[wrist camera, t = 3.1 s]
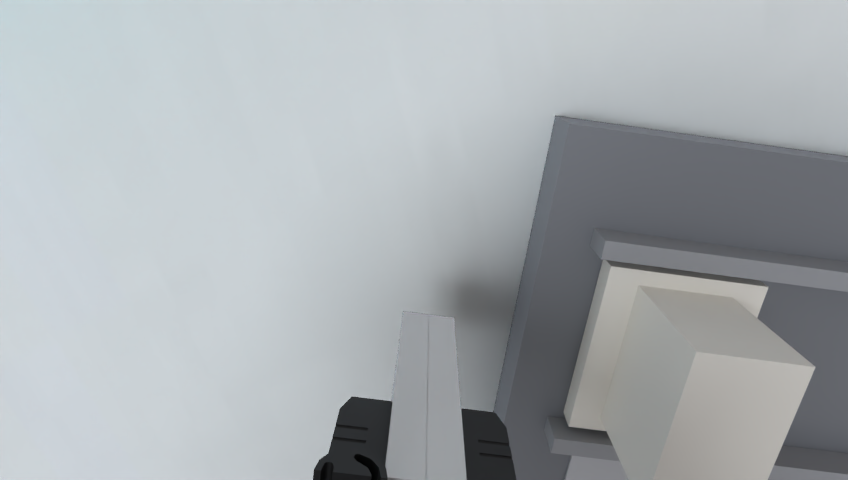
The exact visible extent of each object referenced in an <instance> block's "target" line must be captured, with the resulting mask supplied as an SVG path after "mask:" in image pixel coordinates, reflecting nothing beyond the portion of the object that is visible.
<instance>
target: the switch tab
mask: <svg viewBox="0 0 848 480" xmlns="http://www.w3.org/2000/svg"><path fill="white" fill-rule="evenodd" d="M768 288H769V287H768V286H766V285H765V284H764V283H762V282H761V281H759V280H753V279H746V278H738V277H731V276H723V275H716V274H708V273H700V272H693V271H685V270H678V269H670V268H663V267H655V266H648V265H640V264H632V263H625V262H617V261H610V260H603V261H602V265H601V269H600V273H599V277H598V281H597V284H596V288H595V292H594V296H593V300H592V304H591V308H590V311H589V315H588V319H587V323H586V327H585V331H584V335H583V338H582V342H581V346H580V350H579V354H578V358H577V362H576V365H575V369H574V373H573V377H572V381H571V385H570V388H569V392H568V396H567V400H566V404H565V408H564V415H565V418H566V421H567V424H568V426H569V427H576V428H584V429H592V430H601V431H607V433H608V436H609V438H610V440H611V442H612V445H613V447H614V449H615V451H616V453H617V456H618V458H619V460H620V462H621V464H622V467H623V469H624V471H625V473H626V475H627V478H628V480H768V478H769V476H770V473H771V471H772V469H773V466H774V464H775V461H776V459H777V457H778V454H779V452H780V450H781V447H782V445H783V443H784V440H785V438H786V436H787V433H788V431H789V429H790V426H791V424H792V422H793V419H794V417H795V414H796V412H797V410H798V407H799V405H800V403H801V400H802V398H803V396H804V393H805V391H806V389H807V386H808V384H809V382H810V379H811V377H812V375H813V372H814V370H815V366H814V365H813V364H811V363H810V362H809V361H808V360H807V359H805V358H804V357H803V356H802V355H801V354H799V353H798V352H797V351H796V350H795V349H793V348H792V347H791V346H790V345H789V344H787V343H786V342H785V341H784V340H783V339H781V338H780V337H779V336H778V335H777V334H775V333H774V332H773V331H772V330H771V329H769V328H768V327H767V326H766V325H765V324H763V323H762V322H761V321H760V320H759V319H758V318H757V317H758V314H759V312H760V309H761V306H762V304H763V301H764V298H765V296H766V293H767V290H768Z"/></svg>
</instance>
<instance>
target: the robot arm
mask: <svg viewBox="0 0 848 480" xmlns="http://www.w3.org/2000/svg"><path fill="white" fill-rule="evenodd" d="M509 444H510V443H509V438H508V433H507V428H506V426H505V425H504V424H503V422H502V421H501V420H500V418H499V417H498V416H497V414H496V413H493V412H485V411H477V410H469V409H461V400H460V387H459V374H458V361H457V348H456V335H455V322H454V318H453V317H445V316H437V315H429V314H421V313H413V312H406V311H403V317H402V324H401V332H400V339H399V347H398V354H397V361H396V369H395V376H394V384H393V391H392V400H391V401H384V400H375V399H367V398H359V397H351V398H350V399H349V400H348V401H347V402H346V403H345V404H344V405H343V406H342V407H341V408H340V411H339V415H338V419H337V422H336V427H335V430H334V434H333V439H332V442H331V446H330V450H329V453H328V454H327V455H326V456H324V457H323V458H322V459H320V460H319V462H318V464H317V465H316V467H315V469H314V476H313V480H516V475H515V469H514V464H513V460H512V454H511V449H510V447H509Z"/></svg>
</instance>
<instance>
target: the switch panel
mask: <svg viewBox="0 0 848 480" xmlns="http://www.w3.org/2000/svg"><path fill="white" fill-rule="evenodd" d="M603 260H610V261H617V262H625V263H632V264H640V265H648V266H655V267H663V268H670V269H678V270H685V271H693V272H700V273H708V274H716V275H723V276H731V277H738V278H746V279H753V280H759V281H761V282H762V283H764V284H765V285H766V286H768V287H769V288H768V290H767V293H766V296H765V298H764V301H763V304H762V306H761V309H760V312H759V314H758V317H757V318H758V319H759V320H760V321H761V322H762V323H763V324H765V325H766V326H767V327H768V328H769V329H771V330H772V331H773V332H774V333H775V334H777V335H778V336H779V337H780V338H781V339H783V340H784V341H785V342H786V343H787V344H789V345H790V346H791V347H792V348H793V349H795V350H796V351H797V352H798V353H799V354H801V355H802V356H803V357H804V358H805V359H807V360H808V361H809V362H810V363H811V364H813V365H814V366H815V370H814V372H813V375H812V377H811V379H810V382H809V384H808V386H807V389H806V391H805V393H804V396H803V398H802V400H801V403H800V405H799V407H798V410H797V412H796V414H795V417H794V419H793V422H792V424H791V426H790V429H789V431H788V433H787V436H786V438H785V440H784V443H783V445H782V447H781V450H780V452H779V454H778V457H777V459H776V461H775V464H774V466H773V469H772V471H771V473H770V476H769V478H768V480H848V157H847V156H840V155H832V154H825V153H818V152H811V151H804V150H797V149H789V148H782V147H775V146H768V145H761V144H754V143H747V142H739V141H732V140H725V139H718V138H711V137H704V136H696V135H689V134H682V133H675V132H668V131H661V130H653V129H646V128H639V127H632V126H625V125H618V124H610V123H603V122H596V121H589V120H582V119H575V118H568V117H560V116H555V120H554V125H553V130H552V135H551V139H550V144H549V149H548V154H547V159H546V163H545V168H544V173H543V178H542V182H541V187H540V192H539V197H538V201H537V206H536V211H535V216H534V221H533V225H532V230H531V235H530V240H529V244H528V249H527V254H526V259H525V264H524V268H523V273H522V278H521V283H520V287H519V292H518V297H517V302H516V307H515V311H514V316H513V321H512V326H511V330H510V335H509V340H508V345H507V350H506V354H505V359H504V364H503V369H502V373H501V378H500V383H499V388H498V392H497V397H496V402H495V407H494V412H493V413H496V414H497V416H498V417H499V418H500V420H501V421H502V422H503V424H504V425H505V426H506V428H507V433H508V438H509V443H510V444H509V447H510V449H511V454H512V460H513V464H514V469H515V475H516V480H628V478H627V475H626V473H625V471H624V469H623V467H622V464H621V462H620V460H619V458H618V456H617V453H616V451H615V449H614V447H613V445H612V442H611V440H610V438H609V436H608V433H607V431H601V430H592V429H584V428H576V427H569V426H568V424H567V421H566V418H565V415H564V408H565V404H566V400H567V396H568V392H569V388H570V385H571V381H572V377H573V373H574V369H575V365H576V362H577V358H578V354H579V350H580V346H581V342H582V338H583V335H584V331H585V327H586V323H587V319H588V315H589V311H590V308H591V304H592V300H593V296H594V292H595V288H596V284H597V281H598V277H599V273H600V269H601V265H602V261H603Z"/></svg>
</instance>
